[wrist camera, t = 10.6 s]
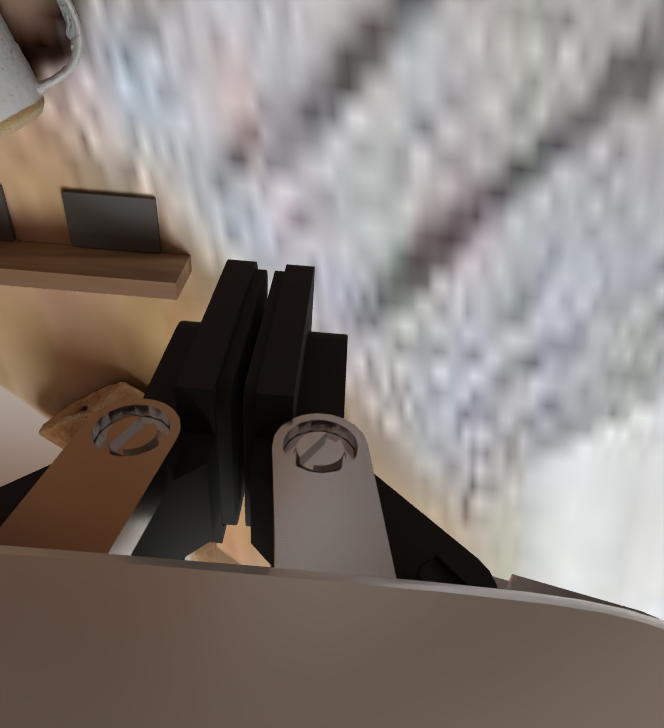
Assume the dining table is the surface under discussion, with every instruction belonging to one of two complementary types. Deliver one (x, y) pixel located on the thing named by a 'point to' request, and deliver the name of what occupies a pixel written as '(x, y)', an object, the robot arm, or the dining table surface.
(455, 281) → the dining table surface
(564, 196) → the dining table surface
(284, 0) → the dining table surface
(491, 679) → the robot arm
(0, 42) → the ceramic mug
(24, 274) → the trap box
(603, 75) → the dining table surface
